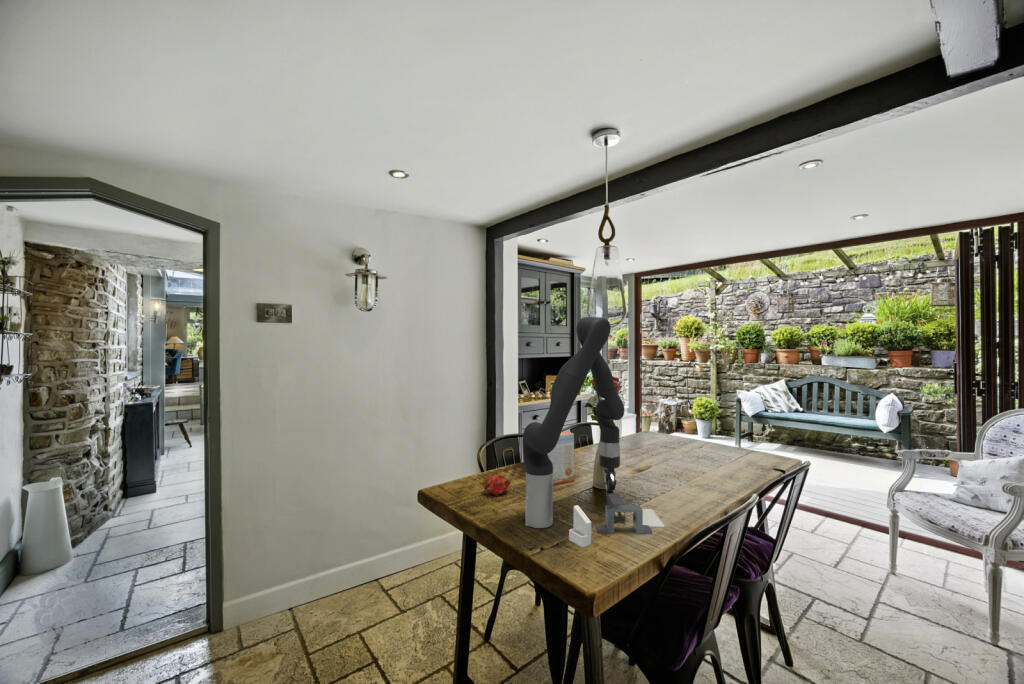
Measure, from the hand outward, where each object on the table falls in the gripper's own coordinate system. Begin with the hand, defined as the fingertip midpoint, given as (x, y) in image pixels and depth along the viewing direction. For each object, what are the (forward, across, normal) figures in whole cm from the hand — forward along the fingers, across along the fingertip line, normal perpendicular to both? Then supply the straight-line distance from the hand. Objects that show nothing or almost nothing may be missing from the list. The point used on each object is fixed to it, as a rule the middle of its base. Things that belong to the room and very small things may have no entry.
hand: (609, 499), depth 159 cm
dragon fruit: (+2, -9, -43) cm, 44 cm away
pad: (+2, +13, +10) cm, 16 cm away
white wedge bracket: (+2, +30, -15) cm, 34 cm away
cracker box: (+2, -23, -18) cm, 29 cm away
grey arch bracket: (+2, +22, 0) cm, 22 cm away
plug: (+2, +11, 0) cm, 11 cm away
